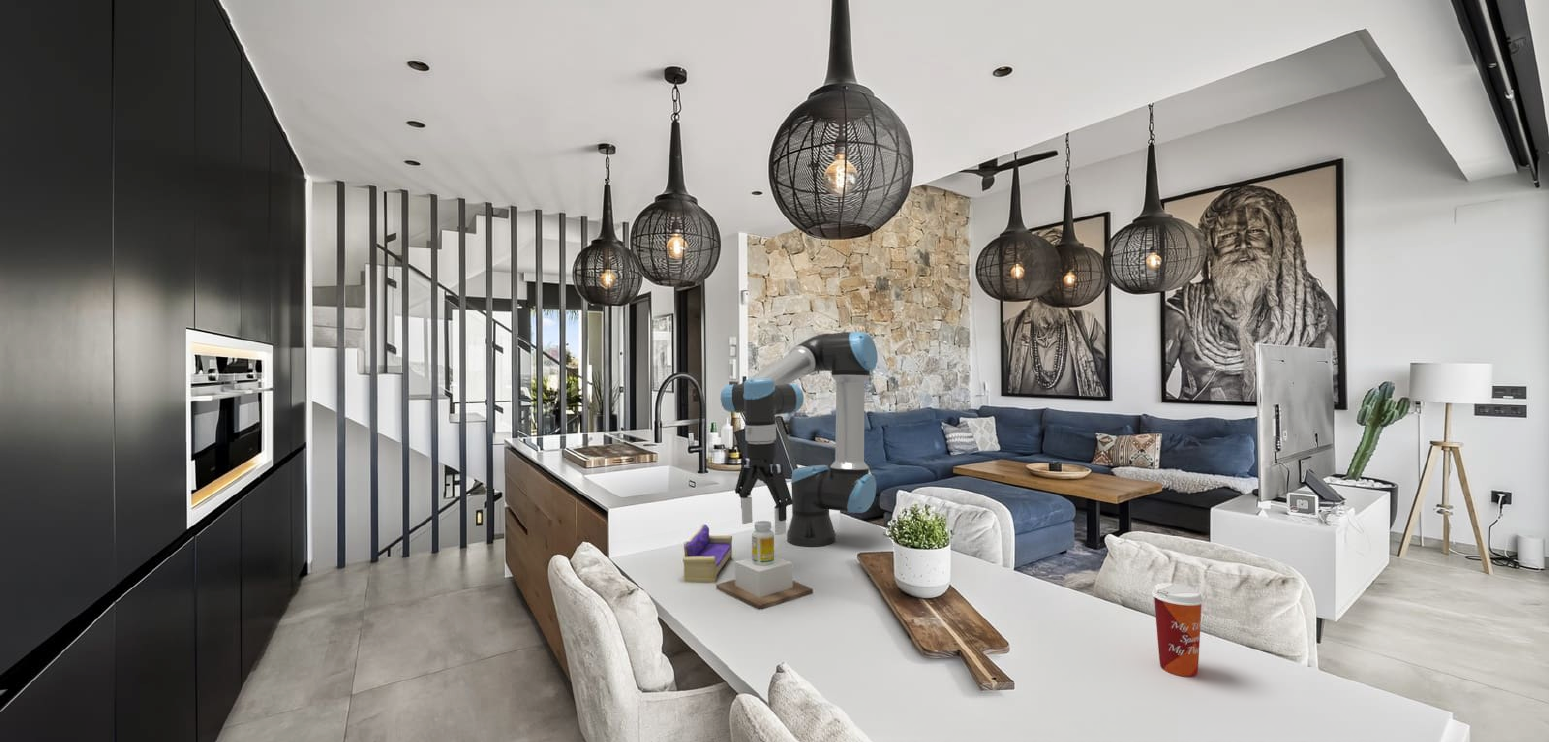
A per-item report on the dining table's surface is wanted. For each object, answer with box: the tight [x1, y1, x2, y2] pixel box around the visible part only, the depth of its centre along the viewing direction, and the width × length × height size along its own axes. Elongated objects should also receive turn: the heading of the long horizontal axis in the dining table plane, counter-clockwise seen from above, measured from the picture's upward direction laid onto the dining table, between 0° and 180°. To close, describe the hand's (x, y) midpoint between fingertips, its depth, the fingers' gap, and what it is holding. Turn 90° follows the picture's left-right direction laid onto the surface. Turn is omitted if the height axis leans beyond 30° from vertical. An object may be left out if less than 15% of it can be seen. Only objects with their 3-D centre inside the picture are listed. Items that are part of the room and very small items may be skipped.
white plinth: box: [734, 555, 794, 597], centre depth 153 cm, size 10×10×6 cm
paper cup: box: [1151, 582, 1205, 678], centre depth 110 cm, size 8×8×14 cm
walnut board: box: [715, 579, 814, 611], centre depth 153 cm, size 16×18×1 cm
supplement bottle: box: [751, 520, 775, 565], centre depth 153 cm, size 5×5×10 cm
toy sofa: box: [682, 524, 733, 583], centre depth 170 cm, size 21×9×10 cm, turn 171°
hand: (763, 528), depth 153 cm, fingers open, 13 cm apart
